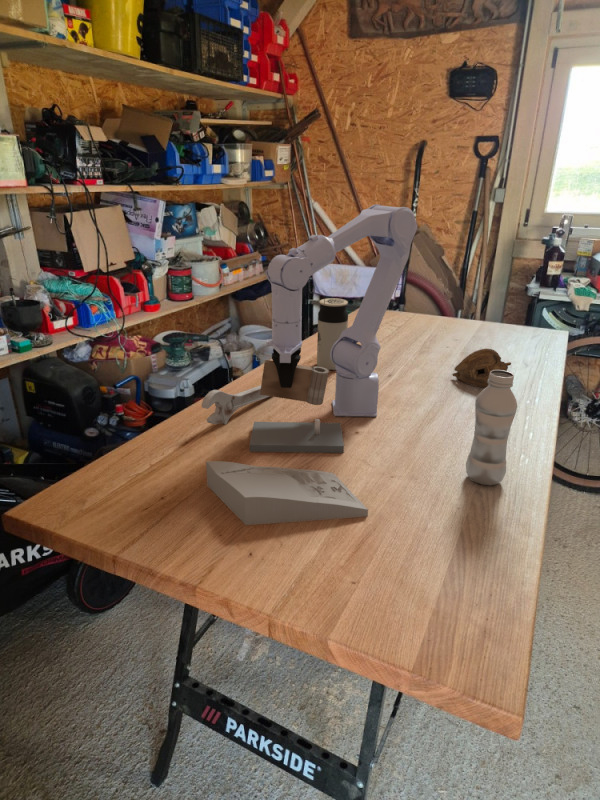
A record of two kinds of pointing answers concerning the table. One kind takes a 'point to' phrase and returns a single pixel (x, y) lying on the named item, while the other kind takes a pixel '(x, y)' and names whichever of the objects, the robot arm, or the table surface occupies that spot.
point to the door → (296, 383)
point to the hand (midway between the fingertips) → (286, 384)
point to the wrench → (229, 403)
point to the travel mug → (330, 329)
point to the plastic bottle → (492, 429)
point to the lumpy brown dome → (479, 367)
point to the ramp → (281, 493)
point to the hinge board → (297, 437)
